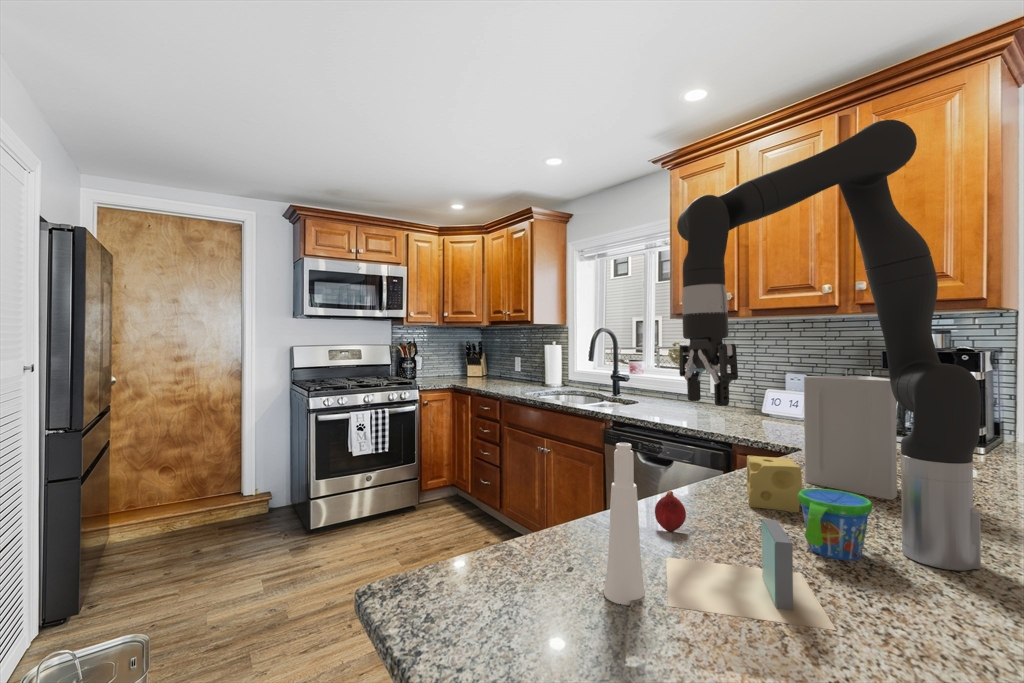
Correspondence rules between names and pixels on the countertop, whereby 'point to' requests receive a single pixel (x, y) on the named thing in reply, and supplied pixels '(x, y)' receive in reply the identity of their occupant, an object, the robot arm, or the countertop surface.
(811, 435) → the white grooved panel
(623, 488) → the cosmetic bottle
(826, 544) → the snack cup
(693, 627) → the countertop surface
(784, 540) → the block
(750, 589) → the board
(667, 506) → the onion
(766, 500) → the cheese
